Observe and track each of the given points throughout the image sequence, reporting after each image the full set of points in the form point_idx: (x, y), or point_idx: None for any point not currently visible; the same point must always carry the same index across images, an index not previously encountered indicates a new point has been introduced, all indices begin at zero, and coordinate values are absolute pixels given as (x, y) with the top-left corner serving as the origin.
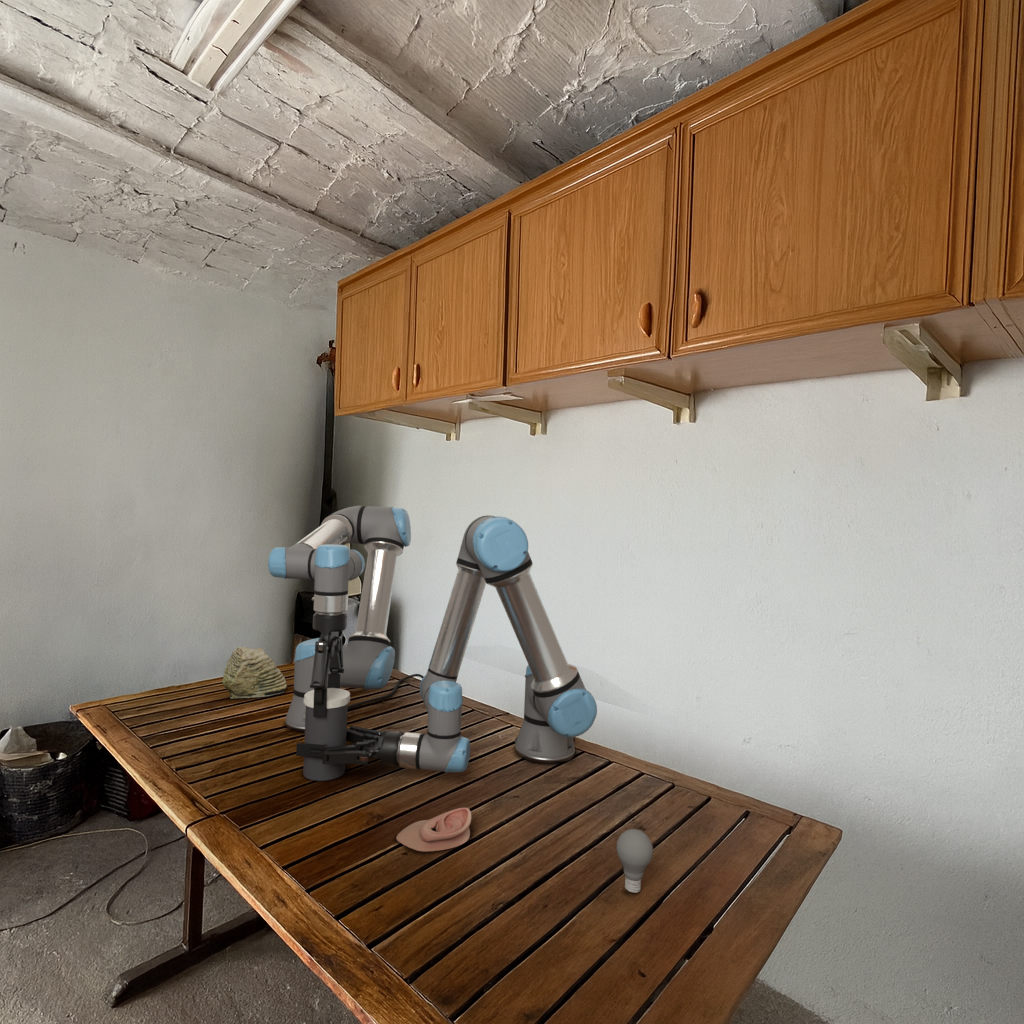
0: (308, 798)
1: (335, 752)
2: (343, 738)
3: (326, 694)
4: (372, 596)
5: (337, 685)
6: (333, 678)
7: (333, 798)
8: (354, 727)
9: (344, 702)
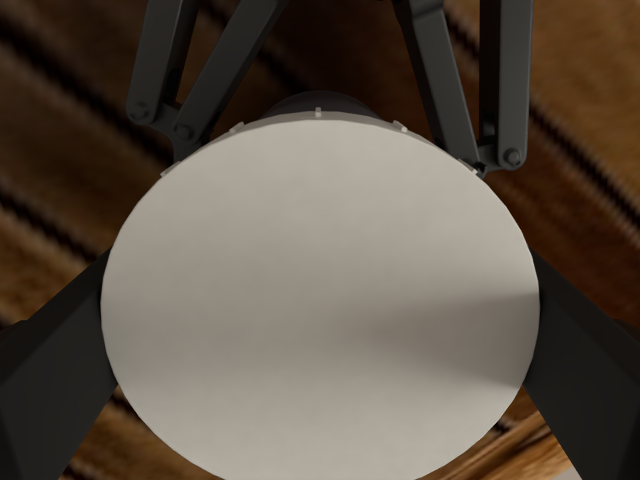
0: (532, 163)
1: (521, 104)
2: (353, 107)
3: (617, 337)
4: None
5: (82, 322)
6: (48, 417)
7: (540, 72)
8: (147, 93)
9: (420, 137)
